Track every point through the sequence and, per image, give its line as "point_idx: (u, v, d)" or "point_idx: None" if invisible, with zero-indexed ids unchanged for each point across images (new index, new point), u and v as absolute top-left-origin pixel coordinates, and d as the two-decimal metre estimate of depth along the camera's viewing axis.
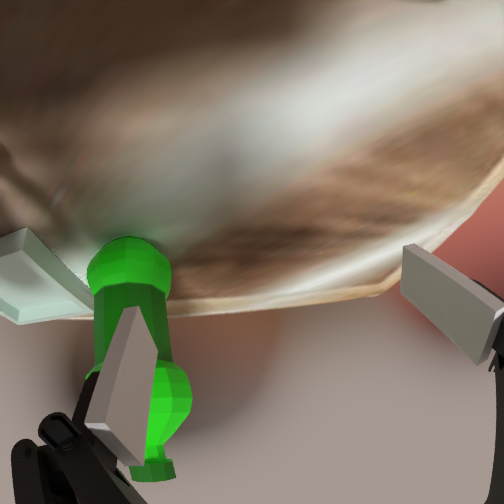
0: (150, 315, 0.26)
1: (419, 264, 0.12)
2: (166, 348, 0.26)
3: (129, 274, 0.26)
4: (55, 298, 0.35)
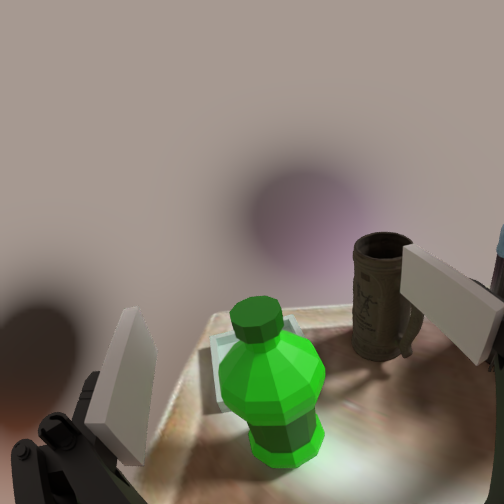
0: (308, 427, 0.27)
1: (419, 264, 0.12)
2: (292, 425, 0.25)
3: (318, 430, 0.30)
4: None
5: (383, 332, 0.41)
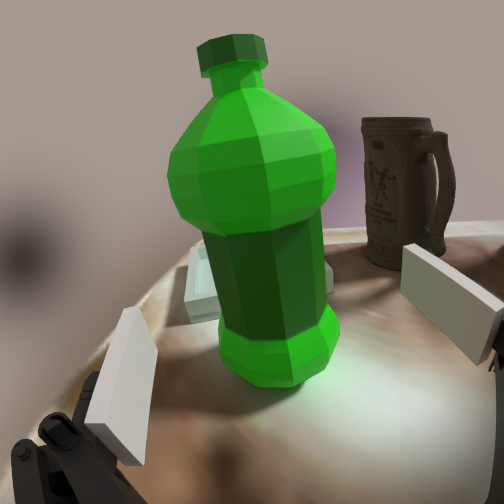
0: (315, 281, 0.18)
1: (419, 264, 0.12)
2: (285, 248, 0.16)
3: (330, 313, 0.21)
4: (212, 287, 0.38)
5: (406, 221, 0.32)
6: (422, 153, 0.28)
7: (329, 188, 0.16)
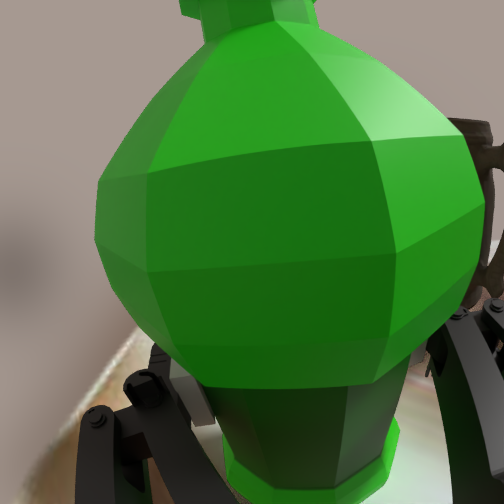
0: (393, 414, 0.08)
1: None
2: (367, 398, 0.07)
3: (393, 425, 0.11)
4: None
5: None
6: (486, 168, 0.19)
7: None
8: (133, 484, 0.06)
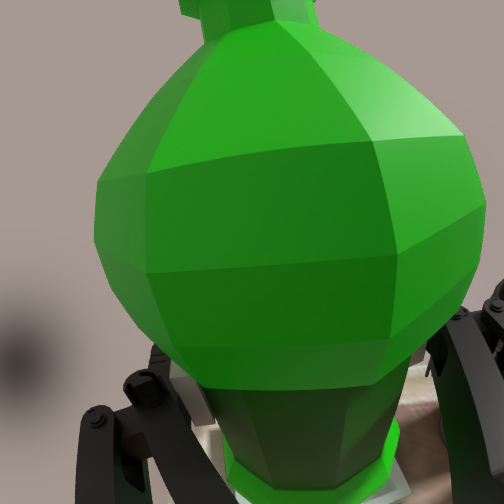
0: (393, 415, 0.08)
1: None
2: (367, 399, 0.07)
3: (393, 425, 0.11)
4: None
5: None
6: None
7: None
8: (133, 484, 0.06)
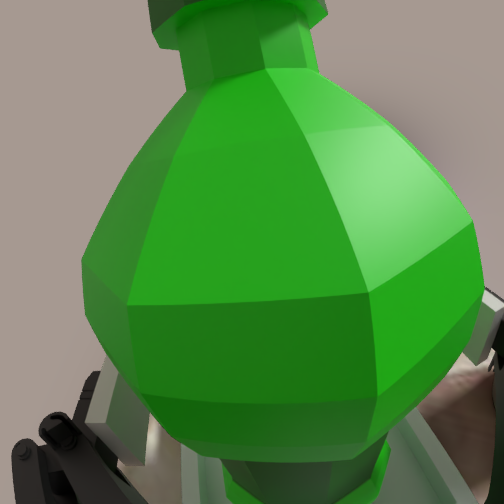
0: None
1: None
2: None
3: (384, 447, 0.11)
4: None
5: None
6: None
7: None
8: None
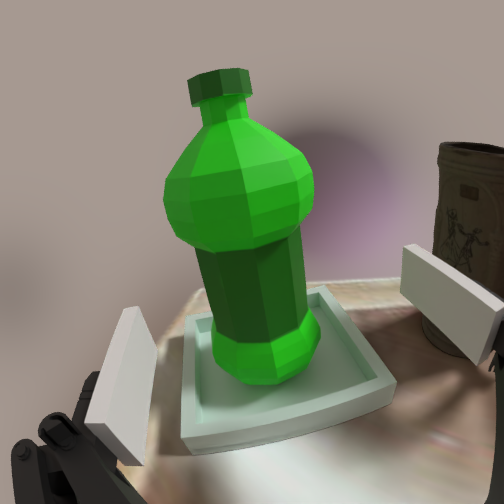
0: (295, 290, 0.21)
1: (419, 265, 0.12)
2: (267, 263, 0.19)
3: (311, 318, 0.23)
4: (218, 394, 0.24)
5: None
6: None
7: (306, 209, 0.19)
8: None
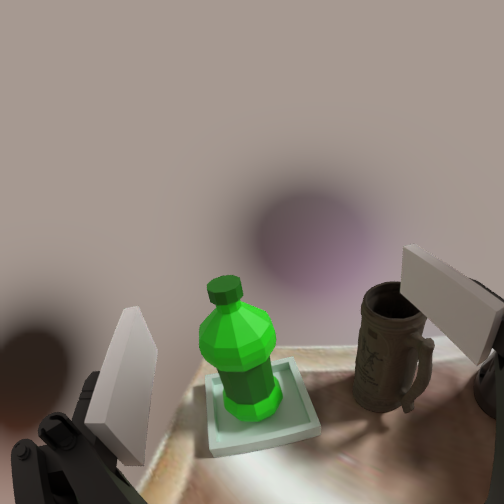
0: (266, 382, 0.39)
1: (419, 264, 0.12)
2: (251, 375, 0.37)
3: (277, 389, 0.41)
4: (227, 425, 0.42)
5: (386, 387, 0.37)
6: (410, 346, 0.33)
7: (271, 351, 0.37)
8: None
